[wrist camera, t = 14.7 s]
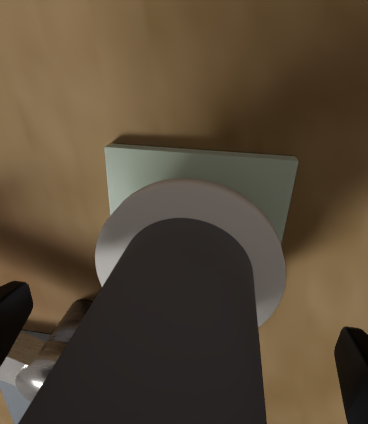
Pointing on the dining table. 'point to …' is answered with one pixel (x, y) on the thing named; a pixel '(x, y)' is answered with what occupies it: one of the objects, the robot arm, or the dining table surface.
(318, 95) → the dining table surface
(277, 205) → the pad
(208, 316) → the plug
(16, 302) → the robot arm
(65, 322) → the lever
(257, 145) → the dining table surface
